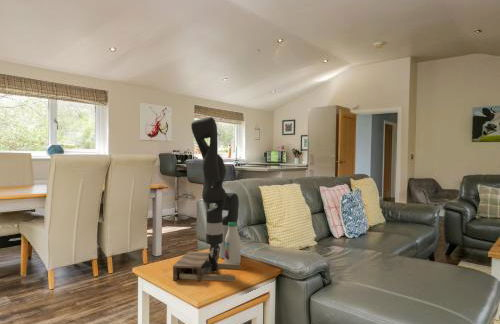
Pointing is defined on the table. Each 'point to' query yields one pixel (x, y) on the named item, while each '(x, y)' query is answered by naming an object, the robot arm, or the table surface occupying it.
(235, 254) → the milk bottle
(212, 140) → the robot arm
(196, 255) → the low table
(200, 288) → the table surface
